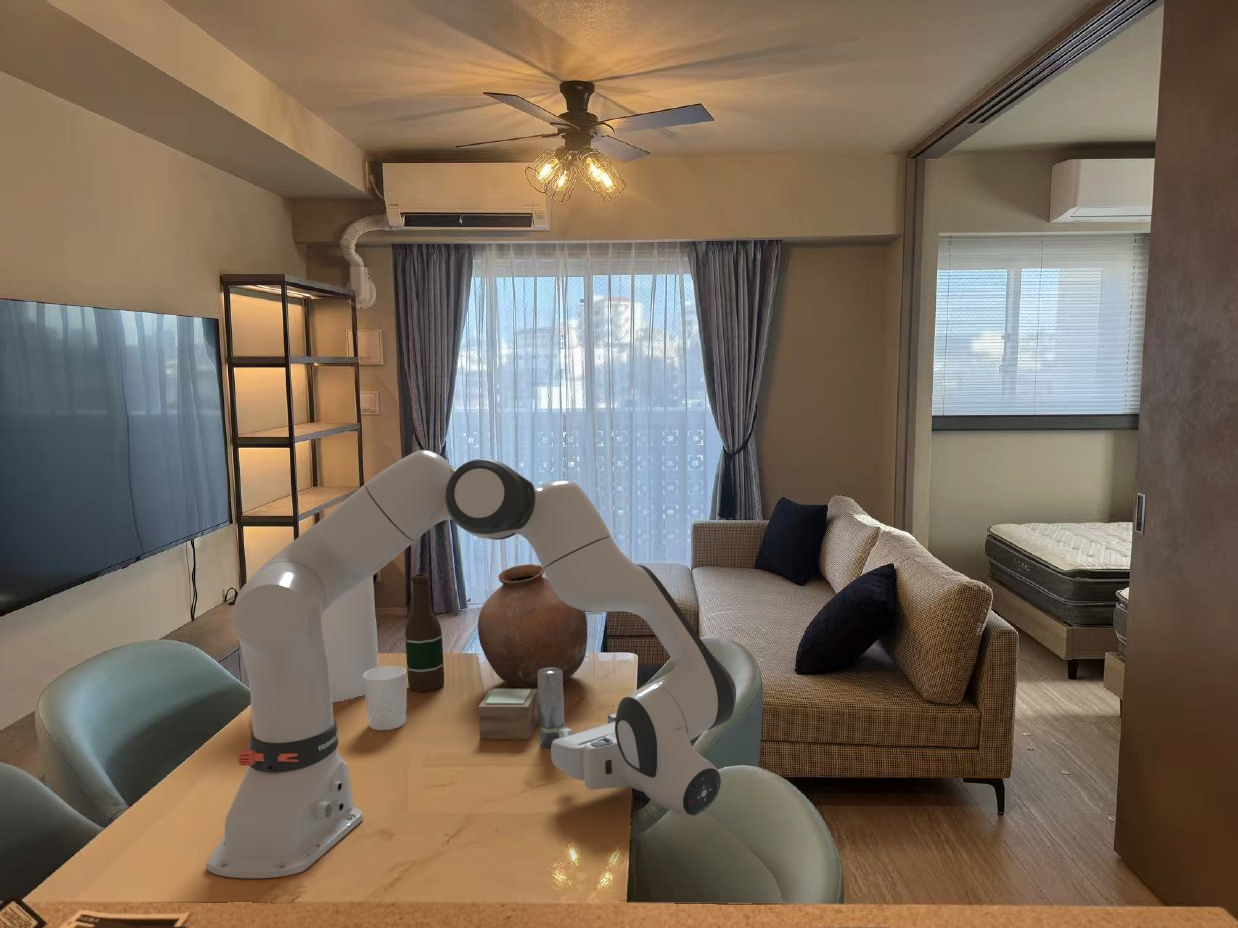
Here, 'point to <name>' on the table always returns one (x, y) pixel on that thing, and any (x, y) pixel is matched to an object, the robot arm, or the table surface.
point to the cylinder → (351, 640)
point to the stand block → (508, 714)
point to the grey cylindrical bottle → (550, 704)
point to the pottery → (530, 628)
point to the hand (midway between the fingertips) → (587, 725)
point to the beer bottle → (423, 641)
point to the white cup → (386, 697)
